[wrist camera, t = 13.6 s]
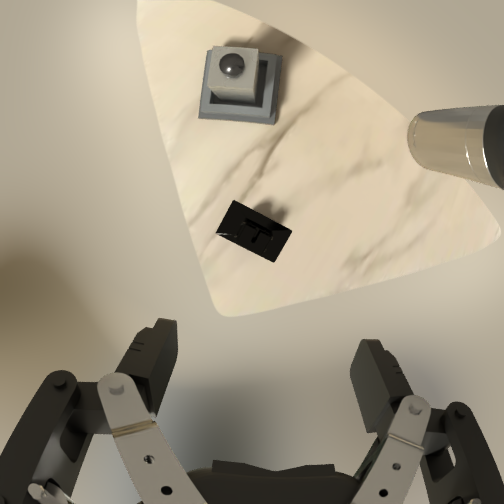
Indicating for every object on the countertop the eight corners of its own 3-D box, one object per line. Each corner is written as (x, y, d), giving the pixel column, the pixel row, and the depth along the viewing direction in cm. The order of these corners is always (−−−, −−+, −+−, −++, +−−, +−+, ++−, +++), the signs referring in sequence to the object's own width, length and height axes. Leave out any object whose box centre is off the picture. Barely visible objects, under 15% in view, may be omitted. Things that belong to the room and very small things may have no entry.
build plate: (304, 230, 42) (308, 240, 37) (279, 271, 44) (280, 284, 40) (226, 189, 40) (222, 194, 36) (204, 233, 42) (198, 243, 38)
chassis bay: (281, 57, 32) (283, 50, 29) (273, 125, 36) (275, 123, 33) (208, 52, 32) (203, 44, 29) (199, 118, 36) (194, 116, 33)
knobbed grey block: (259, 72, 33) (258, 45, 22) (255, 103, 34) (252, 87, 24) (225, 69, 32) (211, 42, 22) (220, 100, 34) (205, 83, 24)
